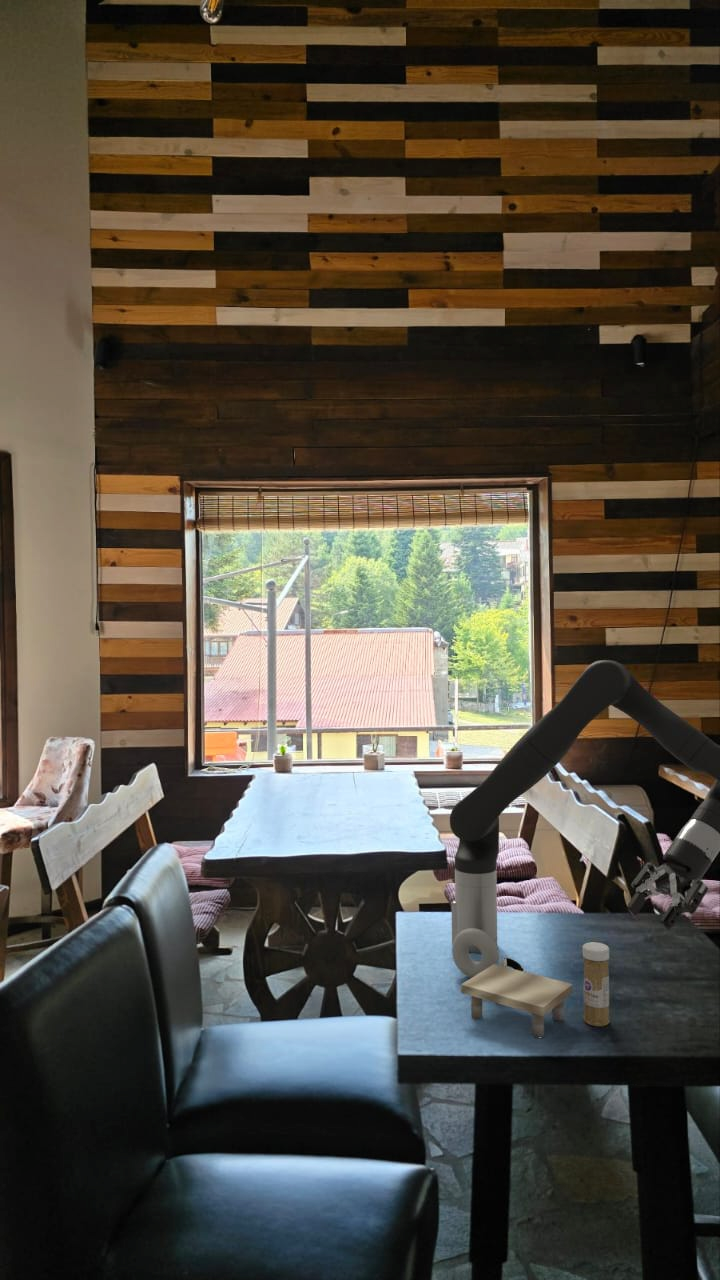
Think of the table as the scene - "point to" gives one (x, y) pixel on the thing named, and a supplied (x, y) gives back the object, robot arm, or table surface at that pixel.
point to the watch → (511, 964)
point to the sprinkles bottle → (596, 984)
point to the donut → (480, 941)
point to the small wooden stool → (518, 994)
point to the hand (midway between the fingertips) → (647, 919)
